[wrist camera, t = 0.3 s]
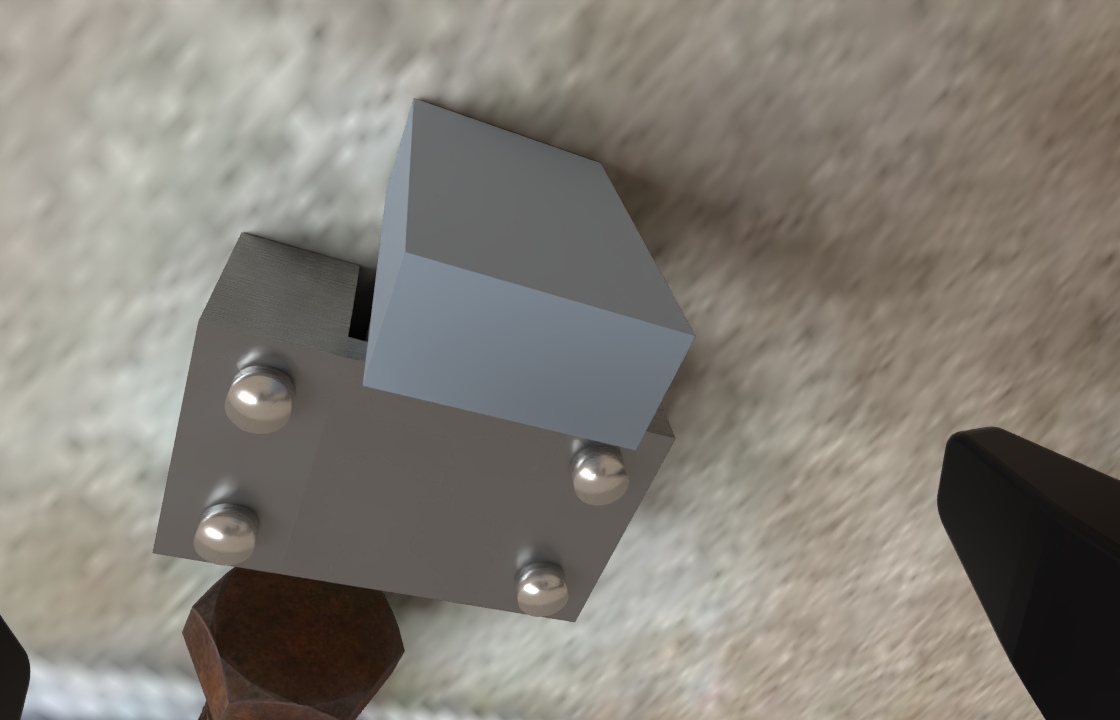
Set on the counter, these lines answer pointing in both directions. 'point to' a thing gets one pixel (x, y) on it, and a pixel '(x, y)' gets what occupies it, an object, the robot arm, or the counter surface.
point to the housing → (376, 461)
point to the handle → (518, 286)
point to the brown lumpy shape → (290, 647)
